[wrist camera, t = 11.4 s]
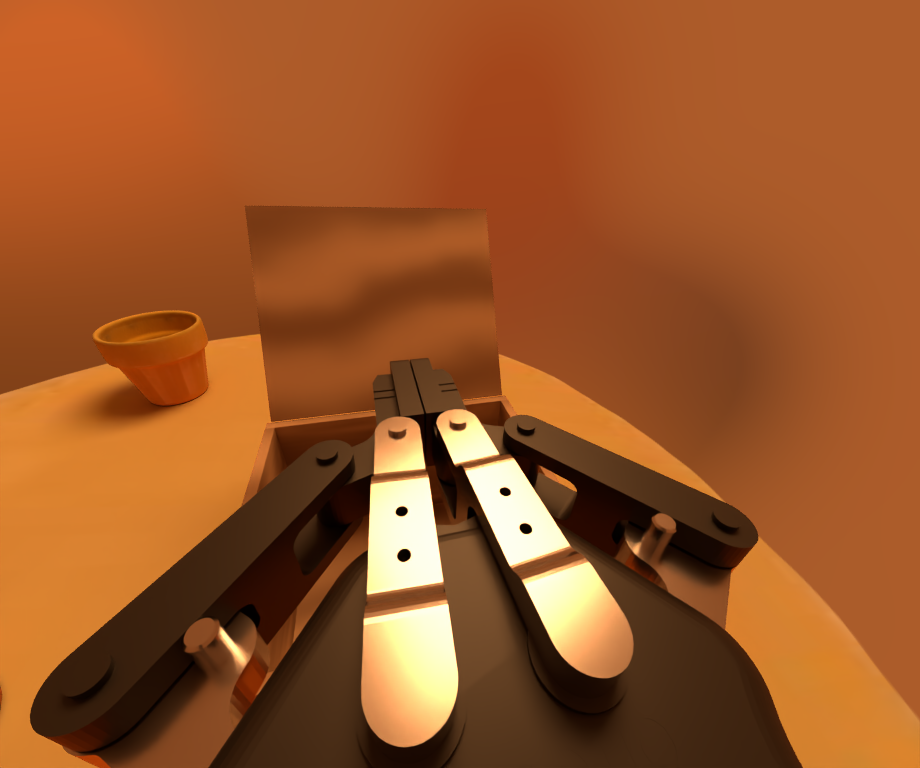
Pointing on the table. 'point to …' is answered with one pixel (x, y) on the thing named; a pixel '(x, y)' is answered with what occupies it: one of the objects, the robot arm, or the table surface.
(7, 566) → the table surface
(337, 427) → the open wooden box
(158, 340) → the plant pot
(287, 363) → the box flap
